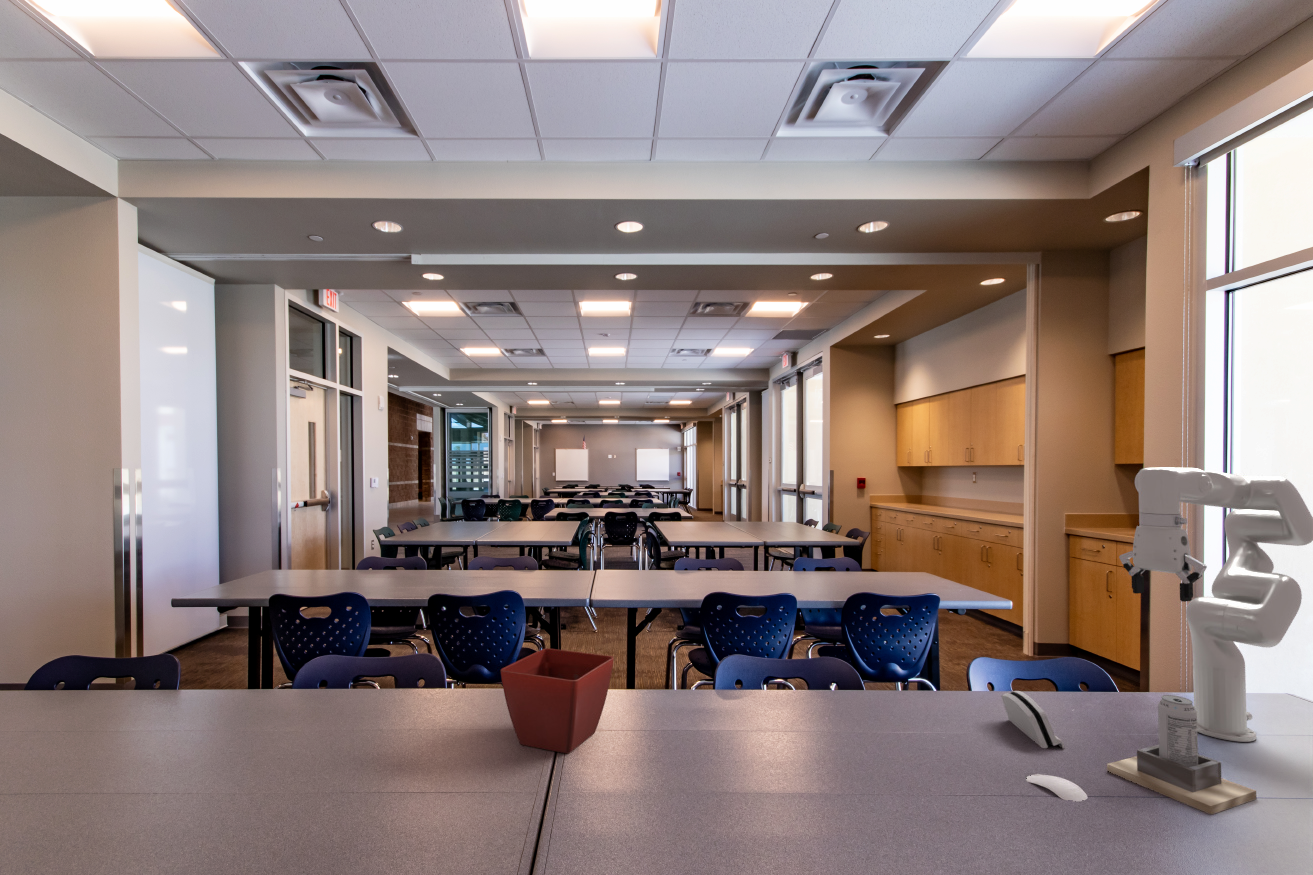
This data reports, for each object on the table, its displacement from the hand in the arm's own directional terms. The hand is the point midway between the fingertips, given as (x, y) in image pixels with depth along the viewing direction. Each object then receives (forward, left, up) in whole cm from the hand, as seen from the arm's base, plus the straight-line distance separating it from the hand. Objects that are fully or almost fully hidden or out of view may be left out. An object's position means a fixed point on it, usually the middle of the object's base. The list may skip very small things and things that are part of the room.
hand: (1161, 596), depth 147 cm
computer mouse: (+42, +3, -34) cm, 54 cm away
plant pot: (+126, -54, -34) cm, 141 cm away
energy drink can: (+18, +12, -32) cm, 39 cm away
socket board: (+18, +12, -33) cm, 40 cm away
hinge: (+22, -16, -34) cm, 44 cm away
